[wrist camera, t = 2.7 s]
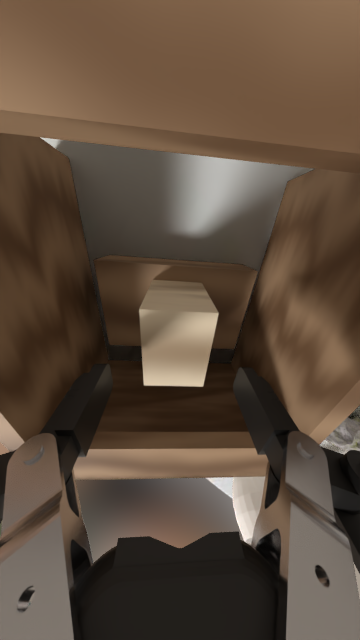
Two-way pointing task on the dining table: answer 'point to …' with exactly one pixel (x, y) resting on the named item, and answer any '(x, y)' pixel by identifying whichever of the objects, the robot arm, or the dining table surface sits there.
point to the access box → (138, 272)
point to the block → (176, 333)
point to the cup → (247, 503)
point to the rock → (346, 435)
